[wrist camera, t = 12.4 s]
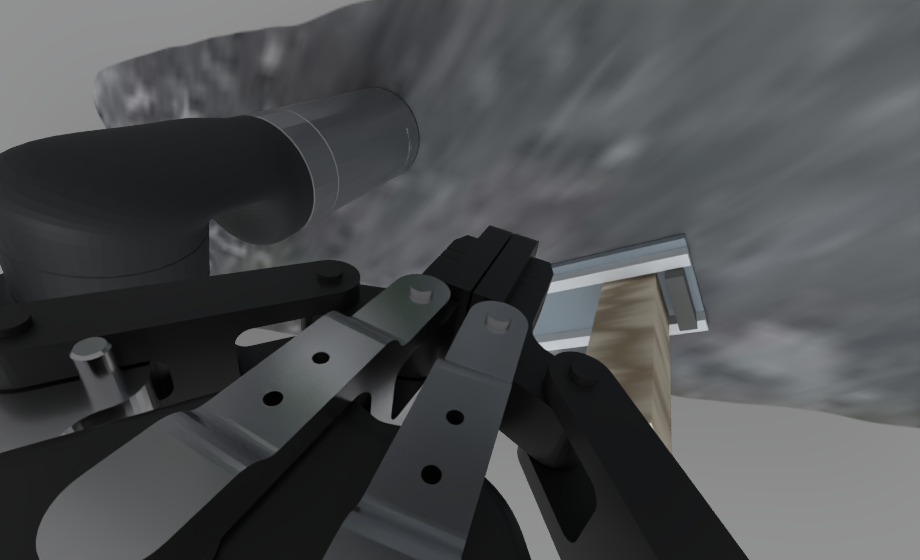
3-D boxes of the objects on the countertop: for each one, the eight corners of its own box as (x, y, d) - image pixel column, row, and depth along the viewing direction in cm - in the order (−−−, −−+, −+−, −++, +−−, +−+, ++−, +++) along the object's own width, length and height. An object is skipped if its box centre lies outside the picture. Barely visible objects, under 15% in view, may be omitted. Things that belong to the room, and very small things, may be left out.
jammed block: (617, 321, 46) (592, 481, 30) (603, 280, 44) (569, 425, 28) (669, 314, 43) (672, 484, 27) (656, 270, 42) (651, 422, 26)
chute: (516, 349, 54) (507, 369, 51) (486, 279, 51) (474, 296, 48) (708, 323, 44) (711, 347, 40) (684, 233, 40) (686, 251, 37)
